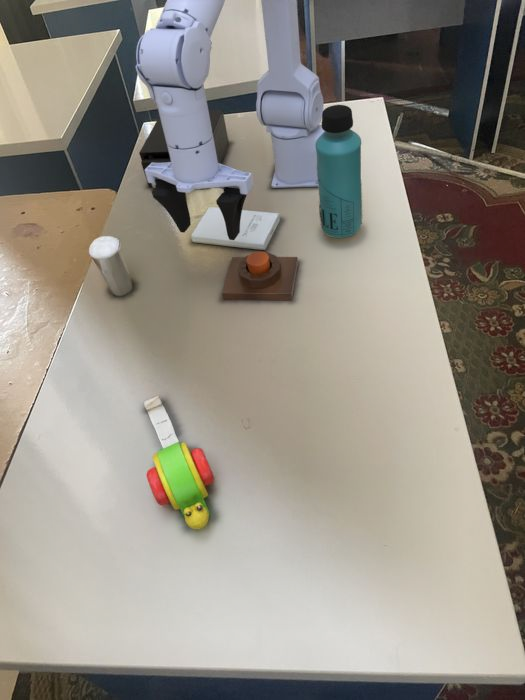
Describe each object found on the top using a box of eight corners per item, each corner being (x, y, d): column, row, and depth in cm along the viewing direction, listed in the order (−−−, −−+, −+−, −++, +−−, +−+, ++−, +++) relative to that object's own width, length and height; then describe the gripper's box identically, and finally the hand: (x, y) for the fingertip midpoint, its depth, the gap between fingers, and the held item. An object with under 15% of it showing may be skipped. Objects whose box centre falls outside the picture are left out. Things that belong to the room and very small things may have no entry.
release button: (271, 260, 82) (270, 251, 81) (268, 275, 80) (267, 265, 79) (250, 260, 83) (248, 251, 82) (246, 275, 81) (244, 265, 80)
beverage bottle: (368, 224, 89) (369, 99, 74) (354, 250, 86) (352, 124, 71) (329, 218, 92) (322, 95, 77) (314, 243, 88) (304, 119, 73)
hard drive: (211, 213, 97) (280, 220, 93) (192, 243, 92) (264, 251, 88) (209, 205, 96) (279, 211, 92) (190, 235, 91) (263, 243, 87)
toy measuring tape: (176, 551, 58) (159, 523, 53) (130, 413, 71) (112, 380, 66) (233, 523, 59) (222, 494, 54) (178, 393, 72) (164, 359, 67)
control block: (298, 263, 85) (296, 247, 83) (291, 300, 80) (289, 284, 78) (233, 263, 87) (230, 248, 85) (223, 299, 82) (219, 284, 80)
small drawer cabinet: (214, 184, 103) (206, 149, 98) (149, 186, 105) (138, 152, 100) (229, 143, 112) (222, 109, 107) (169, 146, 114) (160, 113, 109)
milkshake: (135, 300, 84) (114, 247, 77) (103, 298, 86) (78, 246, 78) (146, 280, 87) (125, 226, 80) (114, 278, 89) (91, 226, 81)
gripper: (122, 148, 69) (150, 241, 78) (229, 159, 64) (245, 256, 74) (151, 122, 73) (174, 213, 83) (254, 130, 68) (266, 226, 78)
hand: (209, 232), depth 78 cm, fingers open, 7 cm apart
